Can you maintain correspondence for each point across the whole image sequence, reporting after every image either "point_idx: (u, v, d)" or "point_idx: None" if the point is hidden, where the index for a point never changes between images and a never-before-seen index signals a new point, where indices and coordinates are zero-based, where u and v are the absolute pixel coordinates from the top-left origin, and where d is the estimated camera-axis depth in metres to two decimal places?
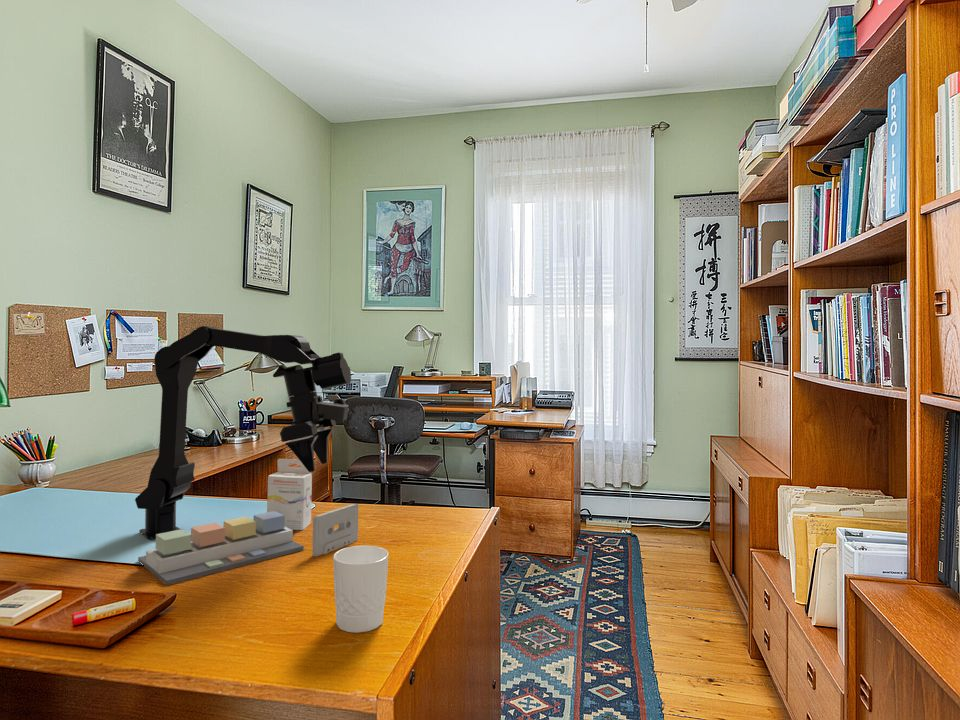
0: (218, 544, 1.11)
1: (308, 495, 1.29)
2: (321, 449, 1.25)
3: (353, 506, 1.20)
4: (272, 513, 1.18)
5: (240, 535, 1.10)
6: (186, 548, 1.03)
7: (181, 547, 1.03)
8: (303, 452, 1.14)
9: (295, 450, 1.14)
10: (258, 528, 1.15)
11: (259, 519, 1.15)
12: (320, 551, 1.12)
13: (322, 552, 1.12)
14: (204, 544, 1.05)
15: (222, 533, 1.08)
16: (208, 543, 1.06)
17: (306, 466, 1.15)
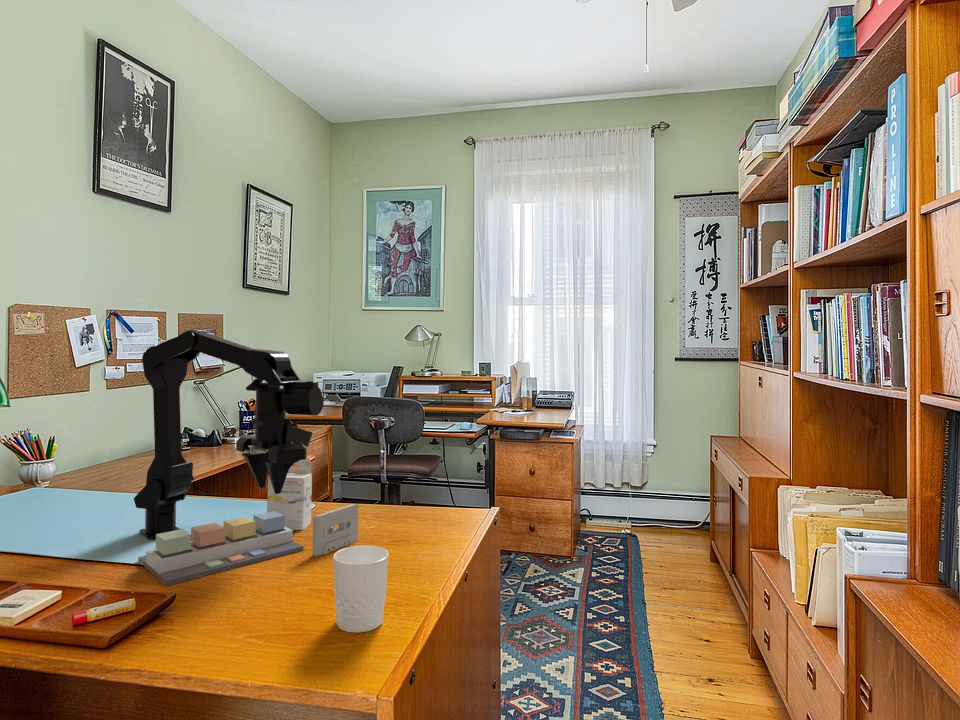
0: (218, 544, 1.11)
1: (308, 495, 1.29)
2: (262, 472, 1.19)
3: (353, 506, 1.20)
4: (272, 513, 1.18)
5: (240, 535, 1.10)
6: (186, 548, 1.03)
7: (181, 547, 1.03)
8: (278, 473, 1.13)
9: (273, 471, 1.12)
10: (258, 528, 1.15)
11: (259, 519, 1.15)
12: (320, 551, 1.12)
13: (322, 552, 1.12)
14: (204, 544, 1.05)
15: (222, 533, 1.08)
16: (208, 543, 1.06)
17: (276, 488, 1.13)
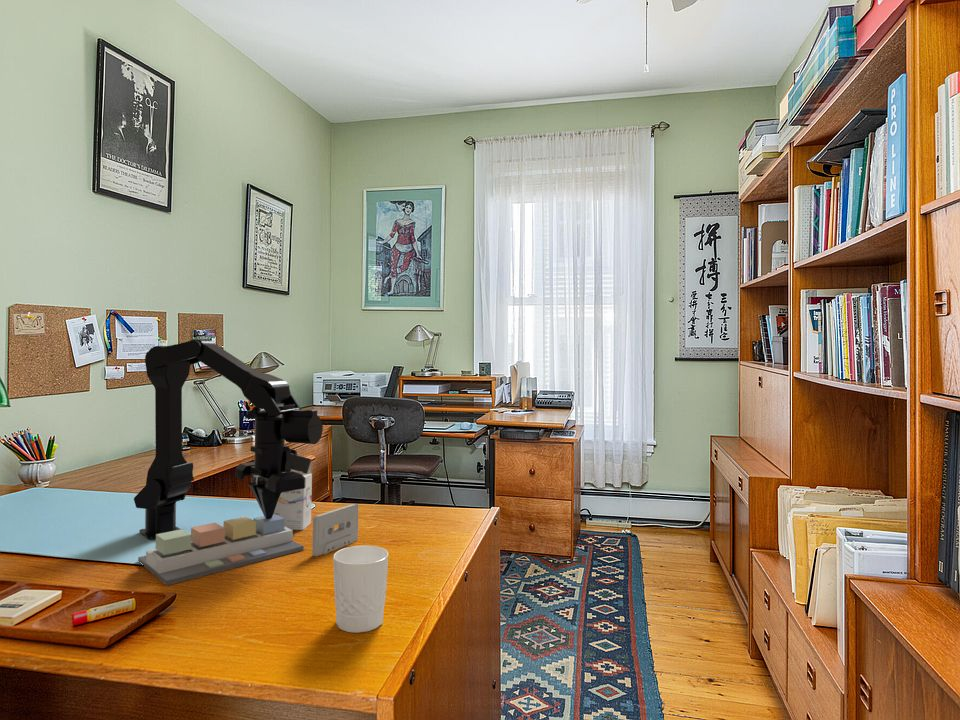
0: (218, 544, 1.11)
1: (308, 495, 1.29)
2: None
3: (353, 506, 1.20)
4: None
5: (240, 535, 1.10)
6: (186, 548, 1.03)
7: (181, 547, 1.03)
8: (270, 499, 1.15)
9: (265, 496, 1.14)
10: (258, 531, 1.15)
11: (259, 522, 1.15)
12: (320, 551, 1.12)
13: (322, 552, 1.12)
14: (204, 544, 1.05)
15: (222, 533, 1.08)
16: (208, 543, 1.06)
17: (267, 513, 1.16)
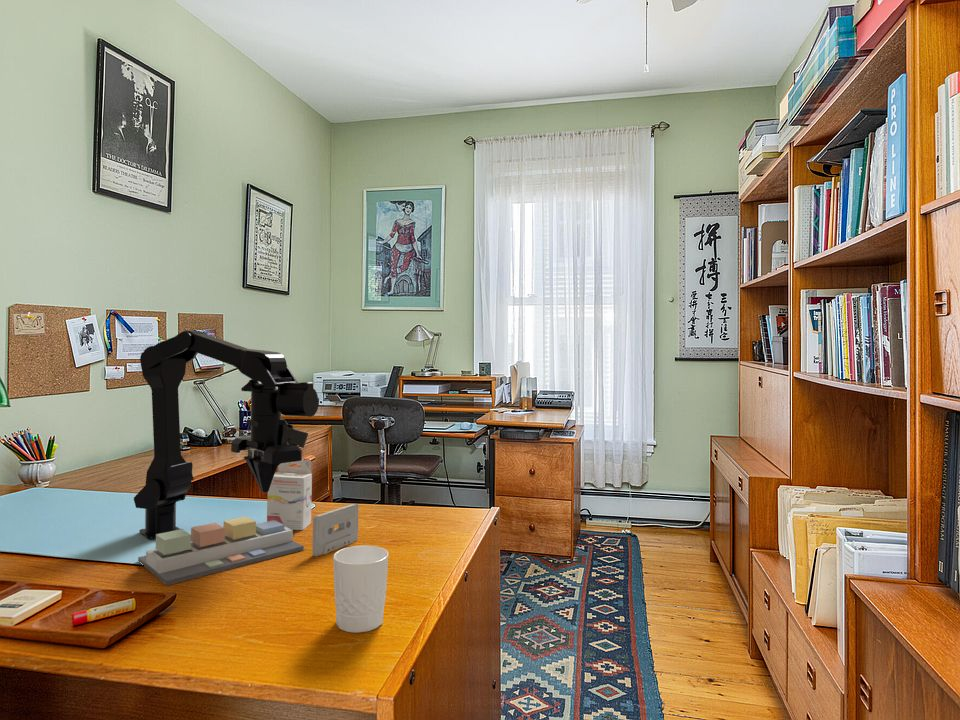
0: (218, 544, 1.11)
1: (308, 495, 1.29)
2: None
3: (353, 506, 1.20)
4: (272, 522, 1.18)
5: (240, 535, 1.10)
6: (186, 548, 1.03)
7: (181, 547, 1.03)
8: (266, 472, 1.15)
9: (261, 469, 1.13)
10: None
11: (259, 528, 1.15)
12: (320, 551, 1.12)
13: (322, 552, 1.12)
14: (204, 544, 1.05)
15: (222, 533, 1.08)
16: (208, 543, 1.06)
17: (263, 486, 1.15)
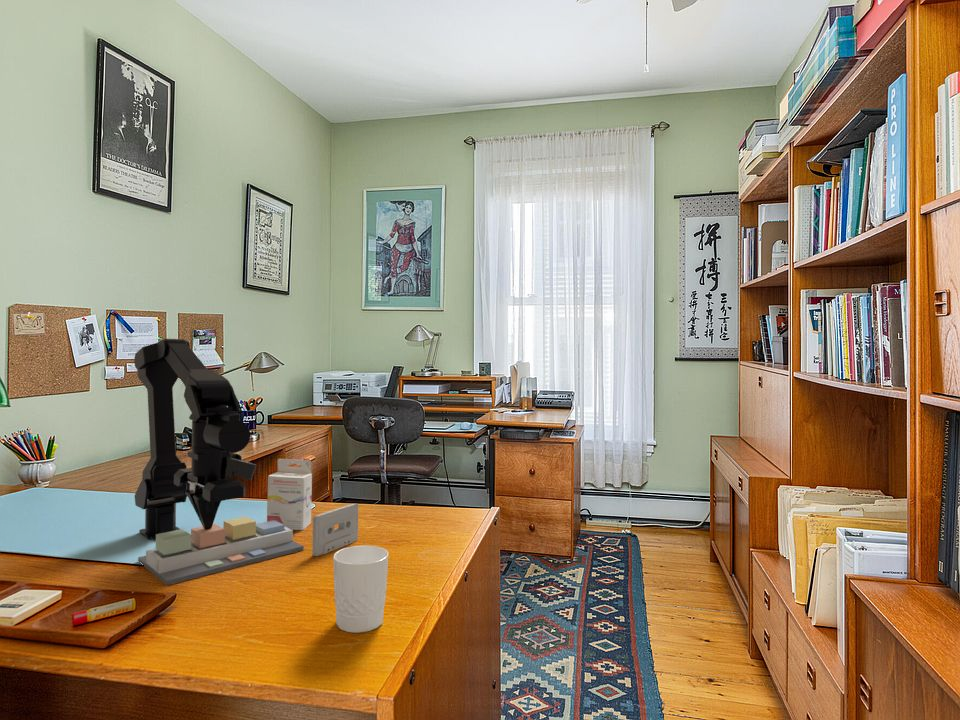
0: (218, 544, 1.11)
1: (308, 495, 1.29)
2: None
3: (353, 506, 1.20)
4: (272, 522, 1.18)
5: (240, 535, 1.10)
6: (186, 548, 1.03)
7: (181, 547, 1.03)
8: (208, 508, 1.07)
9: (202, 506, 1.05)
10: None
11: (259, 528, 1.15)
12: (320, 551, 1.12)
13: (322, 552, 1.12)
14: (204, 545, 1.05)
15: (222, 534, 1.08)
16: (208, 544, 1.06)
17: (205, 523, 1.07)
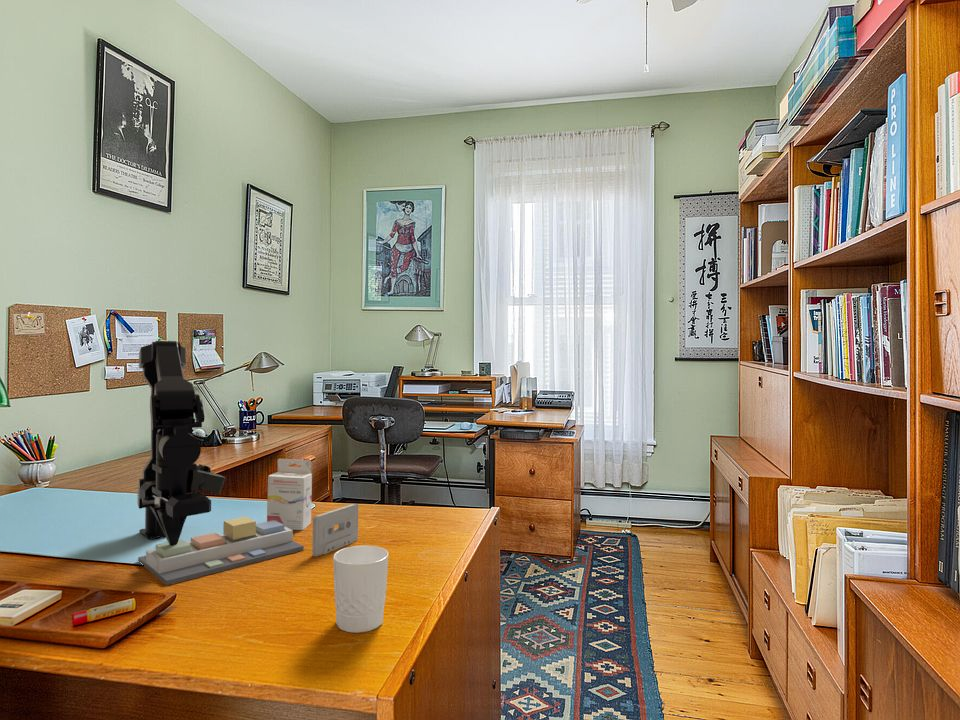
0: None
1: (308, 495, 1.29)
2: None
3: (353, 506, 1.20)
4: (272, 522, 1.18)
5: (240, 535, 1.10)
6: None
7: None
8: (173, 523, 1.02)
9: (166, 521, 1.01)
10: None
11: (259, 528, 1.15)
12: (320, 551, 1.12)
13: (322, 552, 1.12)
14: None
15: (222, 543, 1.08)
16: None
17: (171, 539, 1.03)
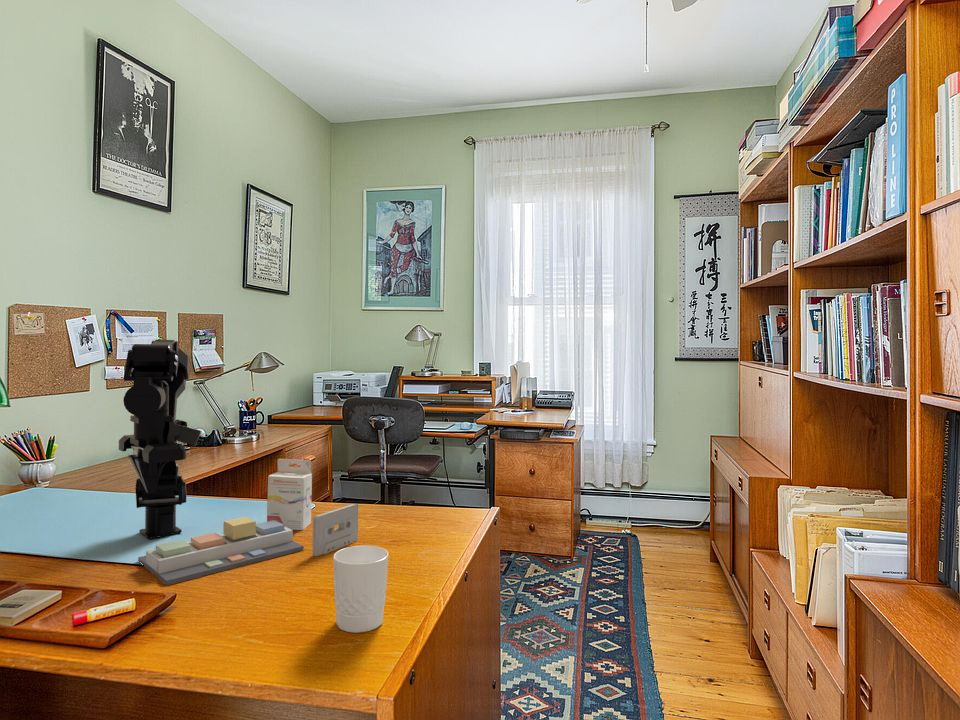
0: None
1: (308, 495, 1.29)
2: None
3: (353, 506, 1.20)
4: (272, 522, 1.18)
5: (240, 535, 1.10)
6: None
7: None
8: (150, 472, 1.08)
9: (144, 469, 1.07)
10: None
11: (259, 528, 1.15)
12: (320, 551, 1.12)
13: (322, 552, 1.12)
14: None
15: (222, 543, 1.08)
16: None
17: (148, 487, 1.08)
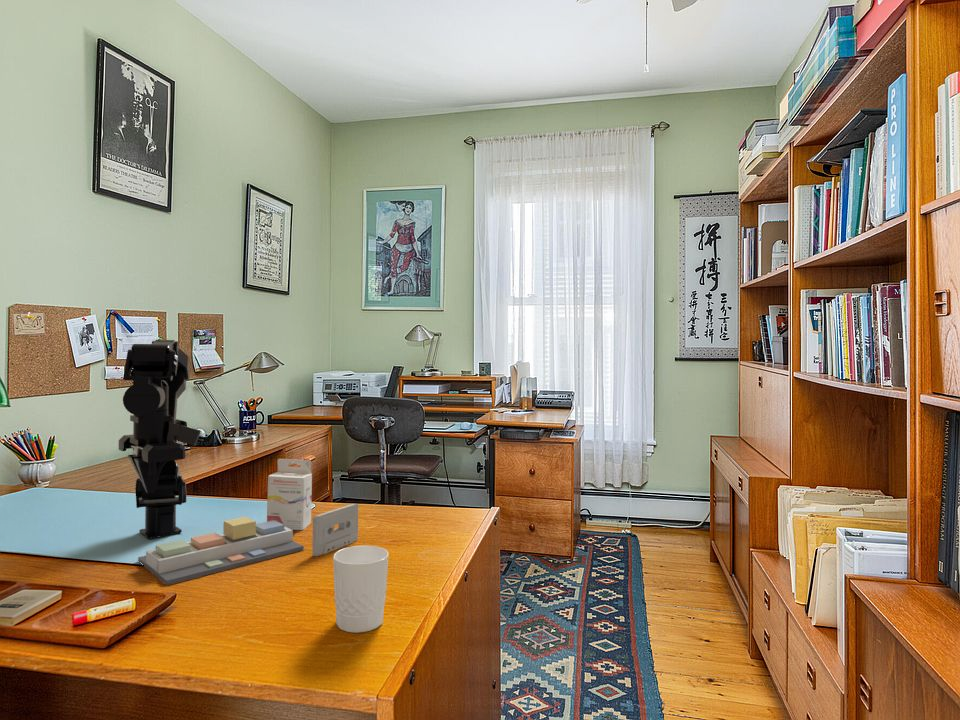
0: None
1: (308, 495, 1.29)
2: None
3: (353, 506, 1.20)
4: (272, 522, 1.18)
5: (240, 535, 1.10)
6: None
7: None
8: (150, 471, 1.08)
9: (143, 469, 1.07)
10: None
11: (259, 528, 1.15)
12: (320, 551, 1.12)
13: (322, 552, 1.12)
14: None
15: (222, 543, 1.08)
16: None
17: (147, 486, 1.08)
